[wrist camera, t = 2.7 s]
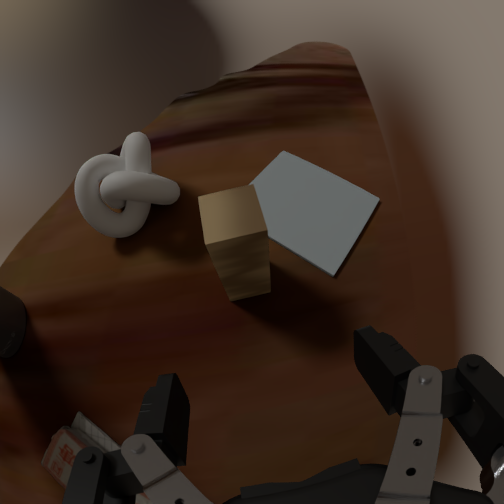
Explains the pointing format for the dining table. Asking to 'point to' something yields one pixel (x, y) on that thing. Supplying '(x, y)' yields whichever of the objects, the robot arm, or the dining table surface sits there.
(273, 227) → the felt mat
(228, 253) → the oak block
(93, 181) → the white decorative knot
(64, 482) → the packaged product
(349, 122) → the dining table surface
